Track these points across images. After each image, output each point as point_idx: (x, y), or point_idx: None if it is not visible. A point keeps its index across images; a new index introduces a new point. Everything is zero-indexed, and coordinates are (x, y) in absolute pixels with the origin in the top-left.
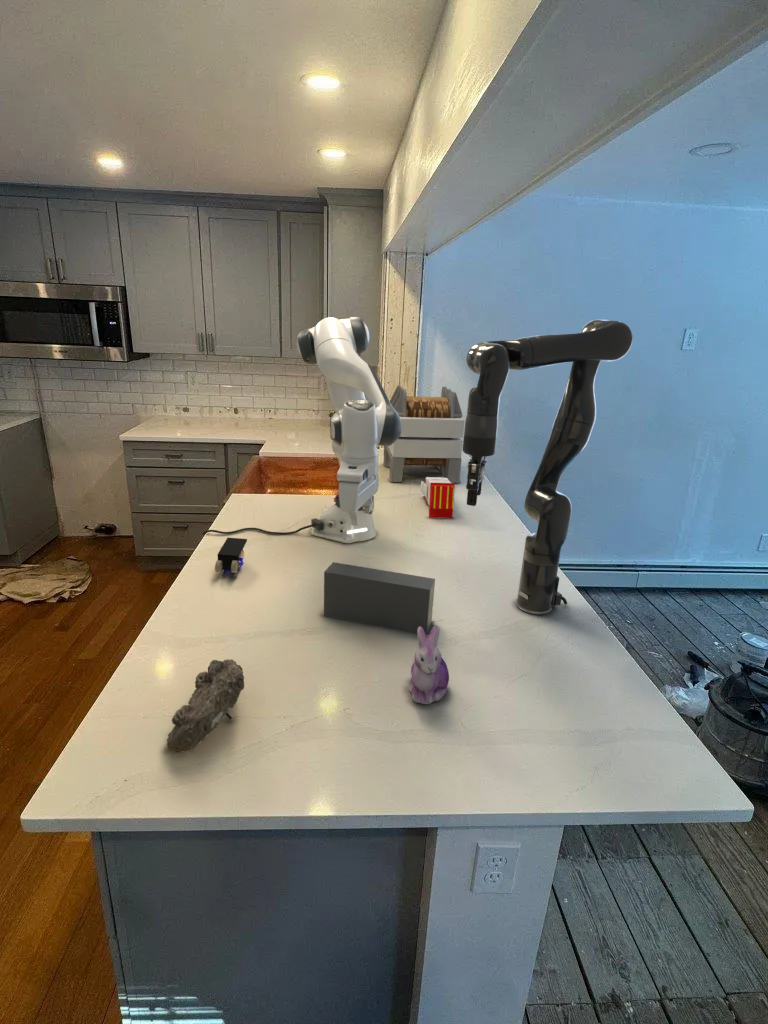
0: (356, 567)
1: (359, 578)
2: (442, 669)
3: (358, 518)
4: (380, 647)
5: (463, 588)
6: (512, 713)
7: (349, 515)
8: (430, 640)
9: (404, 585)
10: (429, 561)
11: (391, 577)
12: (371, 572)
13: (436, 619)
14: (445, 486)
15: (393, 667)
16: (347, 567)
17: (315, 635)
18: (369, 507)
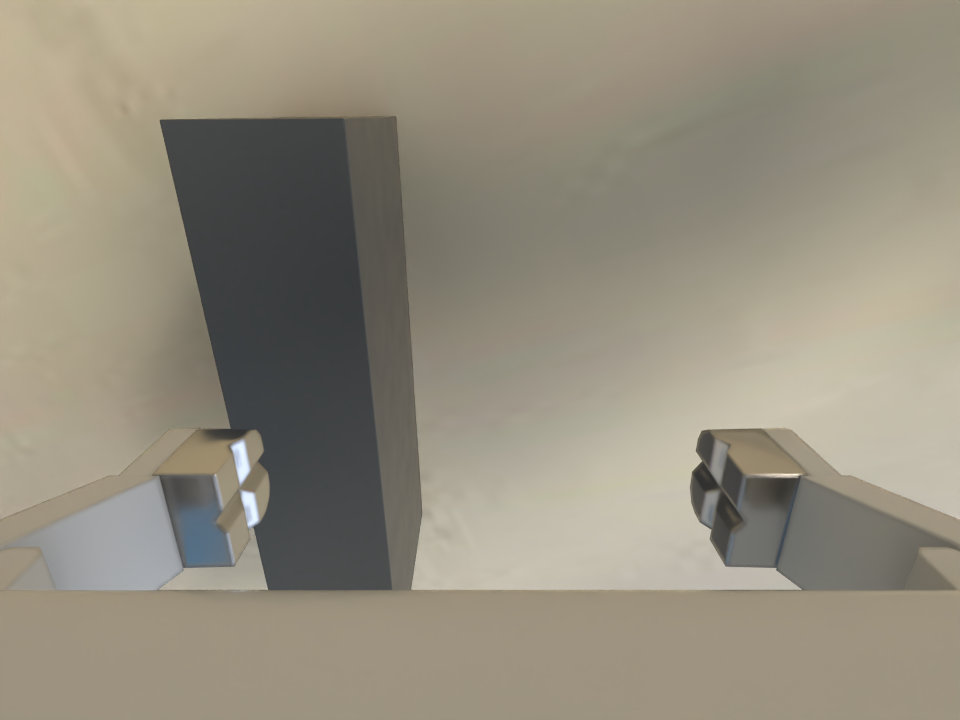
0: (341, 309)
1: (219, 368)
2: None
3: (208, 561)
4: (188, 407)
5: (700, 561)
6: None
7: (18, 519)
8: None
9: (266, 578)
10: (944, 416)
11: (316, 513)
12: (319, 410)
13: (446, 522)
14: None
15: (113, 468)
16: (310, 255)
17: (114, 152)
18: (749, 561)
